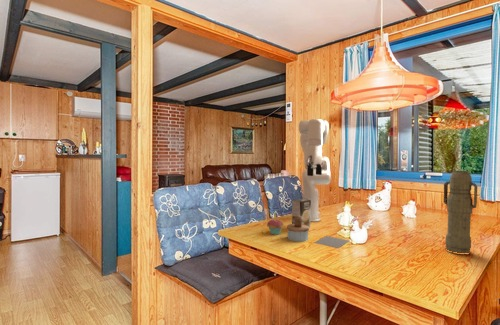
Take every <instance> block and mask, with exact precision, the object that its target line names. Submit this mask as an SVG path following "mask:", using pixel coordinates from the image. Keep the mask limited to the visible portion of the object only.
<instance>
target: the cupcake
mask: <svg viewBox="0 0 500 325" xmlns="http://www.w3.org/2000/svg"><path fill="white" fill-rule="evenodd" d="M266 226H267V228H269V233H270V234H271V235H280V234H281V231H282V229H283V228H284V223H283V222H282V221H281V220H279V219H276V212H273V219H271V220H269V221H268V222H267V223H266Z"/></svg>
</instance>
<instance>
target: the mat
mask: <svg viewBox="0 0 500 325" xmlns="http://www.w3.org/2000/svg"><path fill="white" fill-rule="evenodd" d="M349 242H350V240H349V239H343V238H340V237H339V238H338V237H334V236H330V235H329V236H328V235H326V236H324V237H322V238H320V239H318V240H315V241H314V242H313V243H314V244H318V245H321V246H322V245H323V246H327V247H331V248H336V249H339V248H342V247H343V246H345V245H346V244H347V243H349Z"/></svg>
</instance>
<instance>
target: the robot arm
mask: <svg viewBox="0 0 500 325" xmlns="http://www.w3.org/2000/svg"><path fill="white" fill-rule="evenodd" d="M329 129H330V128H329V122H328V120H325V119H321V118H320V119H319V118H312V119H307V120H300V121H299V123H298V132H299V134H300V139H299V141H300V142H299V143H300V146H301V148H302V151H303V160H304V161H303V165H304V168H305V169H304V170H303V171H302V174H301V179H302V188H303V189H302V191H303V192H302V194H303V195H302V199H308V200H311V217H310V223H311V222H319V221H321V220H322V218H321V217H320V216H319V215H320V214H321V212H320V211H319V201H320V199H319V197H320V196H319V195H320V192H319V190H318V188H317V187H316V186H317V185H318V186H319V185H320V186H328V185H329V184H331V182H332V181H331V180H332V175H331V174H332V173H331V164H330V159H329V157H328V156H325V155H323V145H325V144H327V141H328V136H329V135H328V134H329Z"/></svg>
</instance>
